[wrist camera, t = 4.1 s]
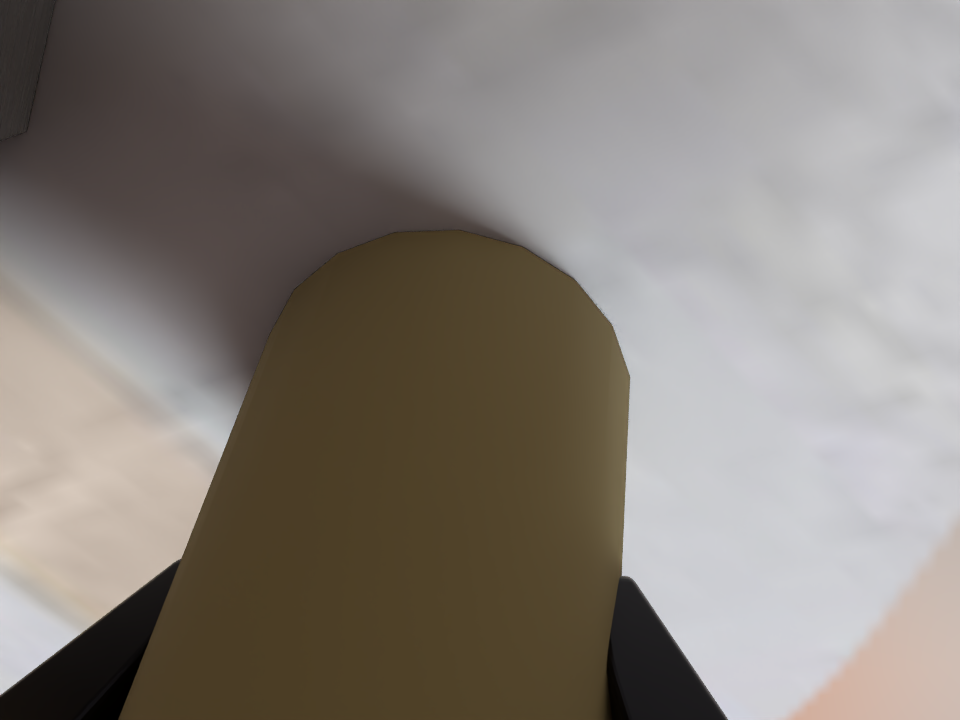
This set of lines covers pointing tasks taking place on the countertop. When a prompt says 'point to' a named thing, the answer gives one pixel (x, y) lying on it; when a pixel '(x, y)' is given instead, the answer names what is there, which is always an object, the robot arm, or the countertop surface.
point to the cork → (409, 503)
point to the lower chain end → (20, 59)
